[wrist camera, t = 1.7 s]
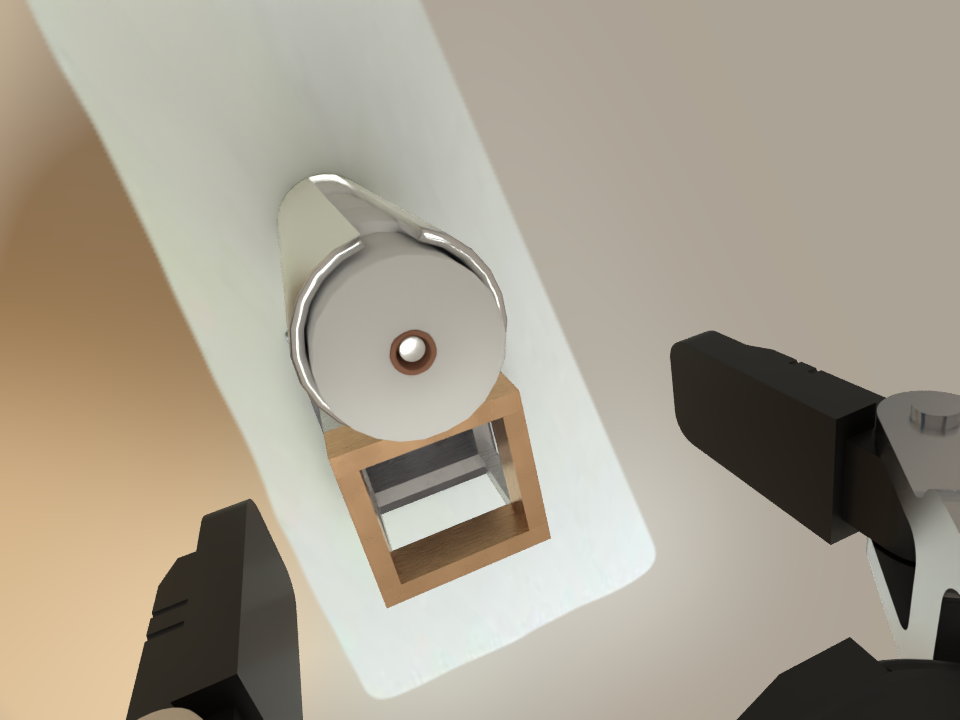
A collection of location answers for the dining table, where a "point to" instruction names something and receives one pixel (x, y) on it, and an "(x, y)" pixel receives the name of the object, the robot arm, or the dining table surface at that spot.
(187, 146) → the dining table surface
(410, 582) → the collar stand
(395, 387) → the grey cylinder
